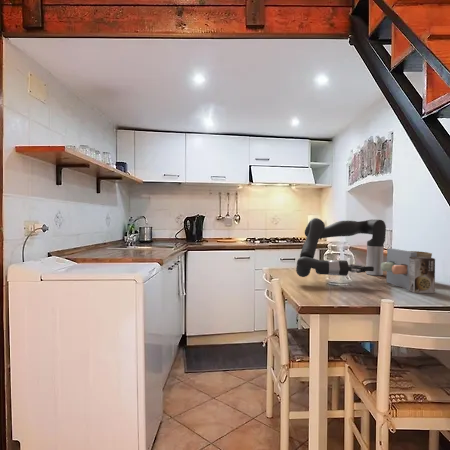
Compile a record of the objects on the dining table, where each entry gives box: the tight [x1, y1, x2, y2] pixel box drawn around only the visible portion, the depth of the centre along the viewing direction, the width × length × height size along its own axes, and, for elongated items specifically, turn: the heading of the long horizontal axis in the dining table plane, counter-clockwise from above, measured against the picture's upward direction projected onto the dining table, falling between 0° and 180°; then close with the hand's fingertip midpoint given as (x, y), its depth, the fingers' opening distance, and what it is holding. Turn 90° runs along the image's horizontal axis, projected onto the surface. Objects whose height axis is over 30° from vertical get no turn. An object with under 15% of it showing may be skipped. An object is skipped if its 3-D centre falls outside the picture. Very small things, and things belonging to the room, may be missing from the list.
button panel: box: [386, 248, 417, 291], centre depth 177 cm, size 20×3×18 cm, turn 6°
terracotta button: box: [392, 265, 408, 274], centre depth 171 cm, size 4×7×4 cm, turn 96°
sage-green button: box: [381, 261, 395, 272], centre depth 181 cm, size 4×7×4 cm, turn 96°
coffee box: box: [408, 257, 436, 294], centre depth 163 cm, size 9×6×16 cm
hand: (373, 268), depth 172 cm, fingers closed
